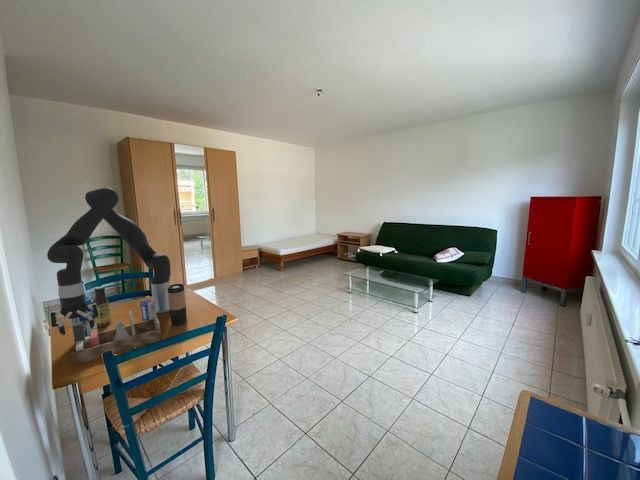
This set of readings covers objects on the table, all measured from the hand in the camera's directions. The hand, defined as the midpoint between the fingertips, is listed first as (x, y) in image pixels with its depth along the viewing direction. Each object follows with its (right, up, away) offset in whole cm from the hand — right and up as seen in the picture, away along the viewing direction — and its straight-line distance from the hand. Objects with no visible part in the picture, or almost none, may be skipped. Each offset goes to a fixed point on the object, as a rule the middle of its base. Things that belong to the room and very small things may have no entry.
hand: (78, 331), depth 110 cm
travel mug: (+26, -6, +30) cm, 40 cm away
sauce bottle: (-12, -6, +28) cm, 31 cm away
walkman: (+11, -6, +30) cm, 33 cm away
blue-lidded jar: (-7, -9, +12) cm, 17 cm away
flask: (+11, -9, +10) cm, 18 cm away
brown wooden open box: (+10, -9, +10) cm, 17 cm away
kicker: (+2, -10, +3) cm, 11 cm away
